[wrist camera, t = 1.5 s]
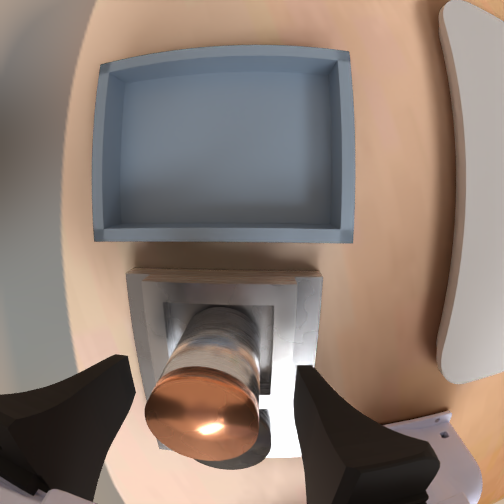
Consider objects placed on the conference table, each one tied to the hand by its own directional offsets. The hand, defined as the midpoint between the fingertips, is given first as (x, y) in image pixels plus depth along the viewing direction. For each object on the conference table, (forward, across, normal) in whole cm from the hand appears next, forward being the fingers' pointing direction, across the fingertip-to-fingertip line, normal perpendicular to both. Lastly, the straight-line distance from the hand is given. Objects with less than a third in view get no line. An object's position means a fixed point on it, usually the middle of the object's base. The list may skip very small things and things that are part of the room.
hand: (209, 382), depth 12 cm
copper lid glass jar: (+4, 0, 0) cm, 4 cm away
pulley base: (+5, 0, +3) cm, 6 cm away
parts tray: (+5, 0, -10) cm, 11 cm away
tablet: (+6, -21, -9) cm, 24 cm away
